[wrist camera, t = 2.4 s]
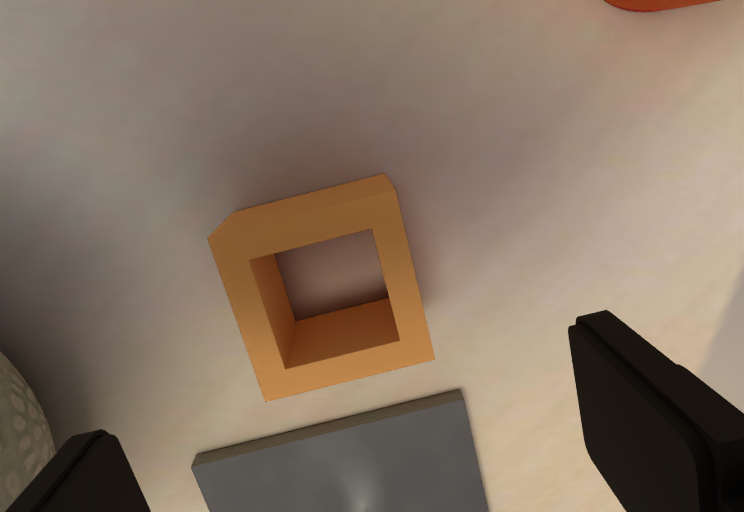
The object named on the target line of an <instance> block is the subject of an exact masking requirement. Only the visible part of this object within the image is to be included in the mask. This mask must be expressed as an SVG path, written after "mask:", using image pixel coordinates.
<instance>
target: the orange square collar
mask: <svg viewBox="0 0 744 512" xmlns="http://www.w3.org/2000/svg"><path fill="white" fill-rule="evenodd" d="M368 229H372V231H373V235H374V239H375V243H376V247H377V251H378V255H379V259H380V263H381V267H382V271H383V275H384V279H385V283H386V287H387V291H388V295H389V298H386V299H382V300H378V301H374V302H370V303H366V304H362V305H358V306H354V307H350V308H346V309H342V310H338V311H335V312H331V313H327V314H323V315H319V316H315V317H311V318H307V319H303V320H299V321H295V319H294V316H293V313H292V309H291V306H290V303H289V300H288V297H287V294H286V291H285V287H284V284H283V281H282V278H281V275H280V272H279V268H278V265H277V262H276V259H275V256H274V253H278V252H282V251H286V250H290V249H294V248H298V247H301V246H305V245H309V244H313V243H317V242H321V241H325V240H329V239H333V238H337V237H341V236H345V235H349V234H353V233H357V232H361V231H364V230H368ZM207 239H208V242H209V244H210V247H211V250H212V253H213V256H214V259H215V261H216V264H217V267H218V270H219V273H220V275H221V278H222V281H223V284H224V287H225V290H226V292H227V295H228V298H229V301H230V304H231V306H232V309H233V312H234V315H235V318H236V321H237V323H238V326H239V329H240V332H241V335H242V337H243V340H244V343H245V346H246V349H247V352H248V354H249V357H250V360H251V363H252V366H253V368H254V371H255V374H256V377H257V380H258V383H259V385H260V388H261V391H262V394H263V397H264V399H265V402H267V401H271V400H275V399H279V398H283V397H287V396H291V395H295V394H299V393H303V392H307V391H311V390H315V389H319V388H323V387H327V386H331V385H335V384H339V383H343V382H347V381H351V380H355V379H359V378H363V377H367V376H371V375H375V374H379V373H383V372H387V371H391V370H395V369H399V368H403V367H407V366H411V365H415V364H419V363H423V362H427V361H431V360H435V357H434V353H433V348H432V344H431V340H430V335H429V331H428V327H427V323H426V318H425V314H424V310H423V305H422V301H421V297H420V293H419V288H418V284H417V280H416V275H415V271H414V267H413V263H412V258H411V254H410V250H409V245H408V241H407V237H406V233H405V228H404V224H403V220H402V215H401V211H400V207H399V203H398V198H397V194H396V190H395V188H394V187H393V185H392V184H391V182H390V181H389V179H388V178H387V176H386V174H385V173H384V174H380V175H376V176H372V177H368V178H365V179H361V180H357V181H353V182H349V183H345V184H341V185H337V186H333V187H329V188H325V189H321V190H318V191H314V192H310V193H306V194H302V195H298V196H294V197H290V198H286V199H282V200H278V201H274V202H271V203H267V204H263V205H259V206H255V207H251V208H247V209H243V210H239V211H235V212H233V213H232V214H231V215H230V216H229V217H228V218H227V219H226V220H225V221H224V222H223V223H222V224H221V225H220V226H219V227H218V228H217V229H216V230H215V231H214V232H213V233H212V234H211V235H210V236H209V237H208V238H207Z"/></svg>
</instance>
